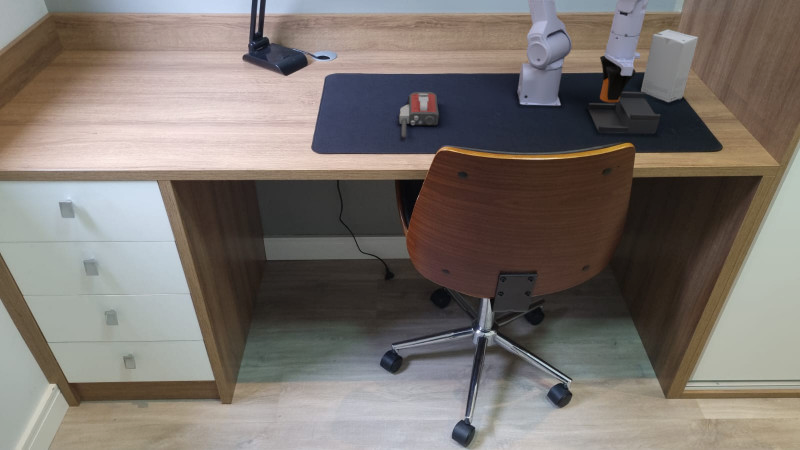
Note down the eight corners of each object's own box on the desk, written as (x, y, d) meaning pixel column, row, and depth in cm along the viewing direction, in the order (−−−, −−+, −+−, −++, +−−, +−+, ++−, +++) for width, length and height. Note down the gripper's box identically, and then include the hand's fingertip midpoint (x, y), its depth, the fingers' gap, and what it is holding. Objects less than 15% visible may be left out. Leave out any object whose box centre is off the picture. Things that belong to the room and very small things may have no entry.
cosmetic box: (682, 98, 136) (701, 37, 127) (666, 105, 133) (685, 42, 124) (652, 87, 141) (669, 27, 132) (637, 92, 139) (653, 32, 130)
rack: (597, 134, 122) (602, 114, 119) (587, 110, 131) (591, 90, 128) (654, 135, 121) (660, 115, 118) (640, 111, 131) (645, 91, 128)
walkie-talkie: (400, 102, 136) (398, 142, 120) (400, 84, 133) (398, 123, 117) (436, 102, 135) (440, 142, 119) (437, 84, 133) (440, 123, 117)
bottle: (601, 102, 122) (607, 77, 118) (598, 94, 125) (603, 70, 121) (621, 102, 121) (627, 78, 118) (616, 95, 125) (622, 70, 121)
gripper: (655, 44, 108) (637, 109, 116) (636, 21, 120) (621, 81, 128) (618, 44, 109) (603, 108, 117) (602, 20, 120) (589, 81, 128)
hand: (610, 94), depth 122 cm, fingers closed on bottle, 4 cm apart
